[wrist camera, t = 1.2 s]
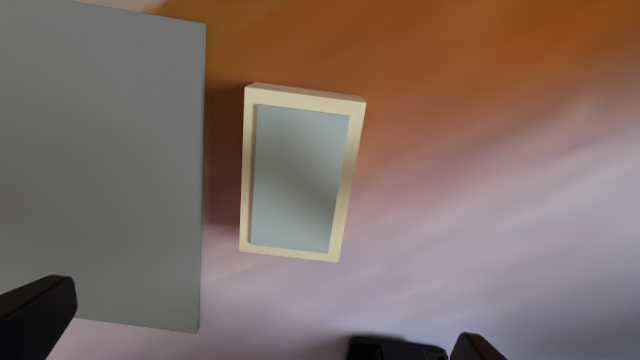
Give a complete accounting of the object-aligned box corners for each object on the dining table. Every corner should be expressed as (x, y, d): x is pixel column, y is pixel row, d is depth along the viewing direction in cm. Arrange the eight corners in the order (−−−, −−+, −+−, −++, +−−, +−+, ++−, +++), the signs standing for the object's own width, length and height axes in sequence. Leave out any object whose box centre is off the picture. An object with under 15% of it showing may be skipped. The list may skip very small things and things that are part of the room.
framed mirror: (336, 236, 18) (338, 265, 16) (250, 225, 18) (238, 253, 16) (360, 94, 15) (366, 103, 13) (257, 81, 15) (243, 87, 13)
